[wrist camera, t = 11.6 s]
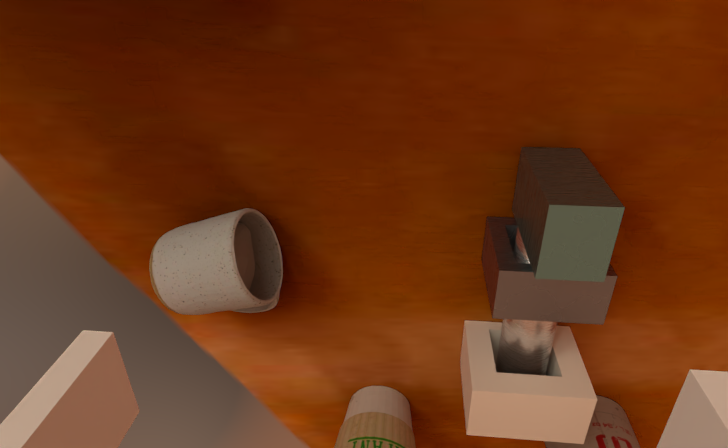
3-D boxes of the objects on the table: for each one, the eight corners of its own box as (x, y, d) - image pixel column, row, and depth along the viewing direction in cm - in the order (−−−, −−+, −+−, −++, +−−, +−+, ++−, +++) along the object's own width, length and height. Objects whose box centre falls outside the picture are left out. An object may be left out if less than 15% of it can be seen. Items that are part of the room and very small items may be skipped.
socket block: (464, 320, 44) (472, 390, 37) (569, 326, 43) (597, 399, 36) (460, 361, 47) (466, 434, 40) (559, 368, 46) (583, 444, 39)
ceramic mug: (170, 215, 42) (123, 268, 36) (255, 190, 40) (223, 241, 33) (227, 309, 47) (195, 372, 40) (306, 291, 45) (286, 354, 38)
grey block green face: (521, 147, 35) (549, 204, 28) (579, 148, 35) (624, 207, 27) (490, 351, 45) (504, 437, 37) (535, 354, 45) (559, 442, 37)
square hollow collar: (486, 216, 39) (499, 270, 33) (584, 220, 38) (617, 276, 32) (481, 259, 41) (492, 318, 35) (574, 263, 40) (603, 324, 34)
